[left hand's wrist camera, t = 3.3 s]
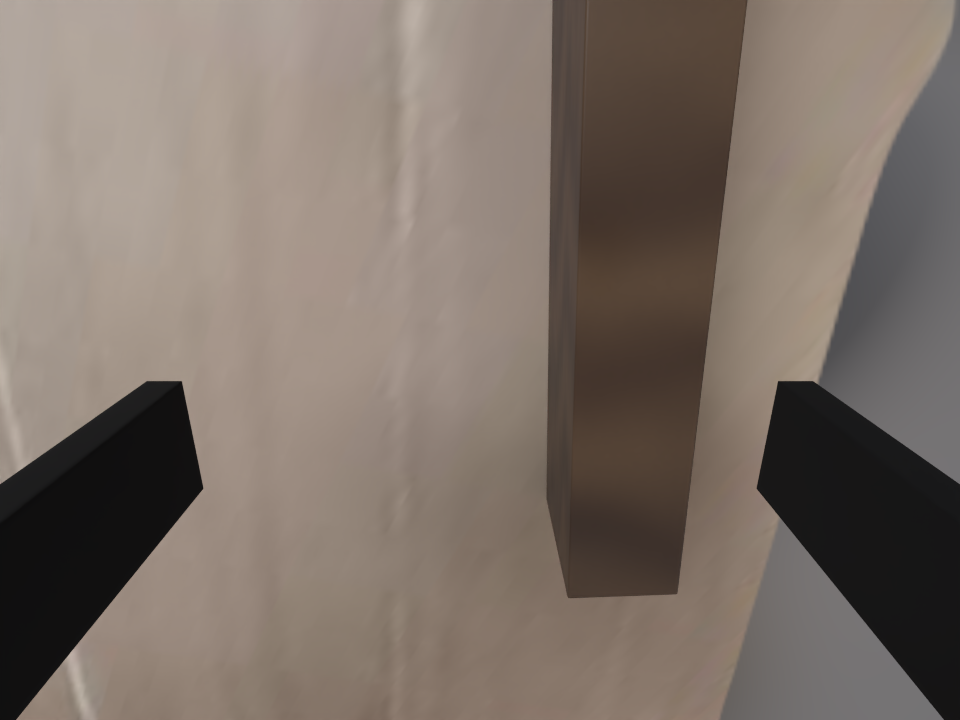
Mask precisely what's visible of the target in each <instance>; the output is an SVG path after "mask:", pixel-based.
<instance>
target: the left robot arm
mask: <svg viewBox="0 0 960 720" xmlns="http://www.w3.org/2000/svg"><path fill="white" fill-rule="evenodd" d="M202 490H203V484H202V479H201V474H200V469H199V464H198V459H197V454H196V449H195V445H194V440H193V435H192V430H191V425H190V420H189V415H188V410H187V405H186V400H185V395H184V390H183V385H182V381H147V382H145V383H144V384H142V385H141V386H140V387H138V388H137V389H135V390H134V391H132V392H131V393H130V394H128V395H127V396H125V397H124V398H122V399H121V400H120V401H118V402H117V403H115V404H114V405H112V406H111V407H110V408H108V409H107V410H105V411H104V412H103V413H101V414H100V415H98V416H97V417H95V418H94V419H93V420H91V421H90V422H88V423H87V424H85V425H84V426H83V427H81V428H80V429H78V430H77V431H75V432H74V433H73V434H71V435H70V436H68V437H67V438H66V439H64V440H63V441H61V442H60V443H58V444H57V445H56V446H54V447H53V448H51V449H50V450H48V451H47V452H46V453H44V454H43V455H41V456H40V457H38V458H37V459H36V460H34V461H33V462H31V463H30V464H29V465H27V466H26V467H24V468H23V469H21V470H20V471H19V472H17V473H16V474H14V475H13V476H11V477H10V478H9V479H7V480H6V481H4V482H3V483H1V484H0V720H16V719H17V718H18V717H19V715H20V714H21V713H22V712H23V710H24V709H25V708H26V707H27V705H28V704H29V703H30V702H31V701H32V699H33V698H34V697H35V696H36V694H37V693H38V692H39V691H40V689H41V688H42V687H43V686H44V685H45V683H46V682H47V681H48V680H49V678H50V677H51V676H52V675H53V673H54V672H55V671H56V670H57V668H58V667H59V666H60V665H61V664H62V662H63V661H64V660H65V659H66V657H67V656H68V655H69V654H70V652H71V651H72V650H73V649H74V647H75V646H76V645H77V644H78V643H79V641H80V640H81V639H82V638H83V636H84V635H85V634H86V633H87V631H88V630H89V629H90V628H91V627H92V625H93V624H94V623H95V622H96V620H97V619H98V618H99V617H100V615H101V614H102V613H103V612H104V610H105V609H106V608H107V607H108V606H109V604H110V603H111V602H112V601H113V599H114V598H115V597H116V596H117V594H118V593H119V592H120V591H121V590H122V588H123V587H124V586H125V585H126V583H127V582H128V581H129V580H130V578H131V577H132V576H133V575H134V573H135V572H136V571H137V570H138V569H139V567H140V566H141V565H142V564H143V562H144V561H145V560H146V559H147V557H148V556H149V555H150V554H151V552H152V551H153V550H154V549H155V548H156V546H157V545H158V544H159V543H160V541H161V540H162V539H163V538H164V536H165V535H166V534H167V533H168V532H169V530H170V529H171V528H172V527H173V525H174V524H175V523H176V522H177V520H178V519H179V518H180V517H181V515H182V514H183V513H184V512H185V511H186V509H187V508H188V507H189V506H190V504H191V503H192V502H193V501H194V499H195V498H196V497H197V496H198V495H199V493H200V492H201V491H202ZM757 490H758V491H759V492H760V493H761V495H762V496H763V497H764V498H765V499H766V501H767V502H768V503H769V504H770V506H771V507H772V508H773V509H774V511H775V512H776V513H777V514H778V515H779V517H780V518H781V519H782V520H783V522H784V523H785V524H786V525H787V527H788V528H789V529H790V530H791V531H792V533H793V534H794V535H795V536H796V538H797V539H798V540H799V541H800V543H801V544H802V545H803V546H804V547H805V549H806V550H807V551H808V552H809V554H810V555H811V556H812V557H813V559H814V560H815V561H816V562H817V564H818V565H819V566H820V567H821V568H822V570H823V571H824V572H825V573H826V575H827V576H828V577H829V578H830V580H831V581H832V582H833V583H834V585H835V586H836V587H837V588H838V589H839V591H840V592H841V593H842V594H843V596H844V597H845V598H846V599H847V601H848V602H849V603H850V604H851V606H852V607H853V608H854V609H855V610H856V612H857V613H858V614H859V615H860V617H861V618H862V619H863V620H864V622H865V623H866V624H867V625H868V627H869V628H870V629H871V630H872V631H873V633H874V634H875V635H876V636H877V638H878V639H879V640H880V641H881V643H882V644H883V645H884V646H885V647H886V649H887V650H888V651H889V652H890V654H891V655H892V656H893V657H894V659H895V660H896V661H897V662H898V664H899V665H900V666H901V667H902V668H903V670H904V671H905V672H906V673H907V675H908V676H909V677H910V678H911V680H912V681H913V682H914V683H915V685H916V686H917V687H918V688H919V689H920V691H921V692H922V693H923V694H924V696H925V697H926V698H927V699H928V700H929V702H930V703H931V704H932V705H933V707H934V708H935V709H936V710H937V712H938V713H939V714H940V715H941V717H942V718H943V719H944V720H960V484H958V483H957V482H956V481H954V480H953V479H951V478H950V477H948V476H947V475H946V474H944V473H943V472H941V471H940V470H939V469H937V468H936V467H934V466H933V465H931V464H930V463H929V462H927V461H926V460H924V459H923V458H922V457H920V456H919V455H917V454H916V453H914V452H913V451H912V450H910V449H909V448H907V447H906V446H904V445H903V444H902V443H900V442H899V441H897V440H896V439H894V438H893V437H892V436H890V435H889V434H887V433H886V432H884V431H883V430H882V429H880V428H879V427H877V426H876V425H875V424H873V423H872V422H870V421H869V420H867V419H866V418H864V417H863V416H862V415H860V414H859V413H857V412H856V411H855V410H853V409H852V408H850V407H849V406H847V405H846V404H845V403H843V402H842V401H840V400H839V399H838V398H836V397H835V396H833V395H832V394H830V393H829V392H828V391H826V390H825V389H823V388H822V387H820V386H819V385H818V384H816V383H815V382H813V381H778V385H777V390H776V395H775V400H774V405H773V410H772V415H771V420H770V425H769V430H768V435H767V440H766V445H765V449H764V454H763V459H762V464H761V469H760V474H759V479H758V484H757Z"/></svg>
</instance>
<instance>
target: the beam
mask: <svg viewBox="0 0 960 720" xmlns="http://www.w3.org/2000/svg"><path fill="white" fill-rule="evenodd" d="M746 7H747V0H553V24H552V105H551V186H550V268H549V349H548V430H547V503H548V508H549V512H550V517H551V522H552V526H553V531H554V536H555V540H556V545H557V550H558V554H559V559H560V564H561V568H562V573H563V578H564V582H565V587H566V592H567V596H568V598H586V597H614V596H641V595H669V594H677V592H678V584H679V575H680V567H681V558H682V550H683V541H684V533H685V524H686V516H687V507H688V499H689V490H690V482H691V473H692V465H693V456H694V448H695V439H696V431H697V422H698V414H699V405H700V397H701V388H702V380H703V371H704V363H705V355H706V346H707V338H708V329H709V321H710V312H711V304H712V295H713V287H714V278H715V270H716V261H717V253H718V244H719V236H720V227H721V219H722V210H723V202H724V193H725V185H726V176H727V168H728V159H729V151H730V142H731V134H732V126H733V117H734V109H735V100H736V92H737V83H738V75H739V66H740V58H741V49H742V41H743V32H744V24H745V15H746Z"/></svg>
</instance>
